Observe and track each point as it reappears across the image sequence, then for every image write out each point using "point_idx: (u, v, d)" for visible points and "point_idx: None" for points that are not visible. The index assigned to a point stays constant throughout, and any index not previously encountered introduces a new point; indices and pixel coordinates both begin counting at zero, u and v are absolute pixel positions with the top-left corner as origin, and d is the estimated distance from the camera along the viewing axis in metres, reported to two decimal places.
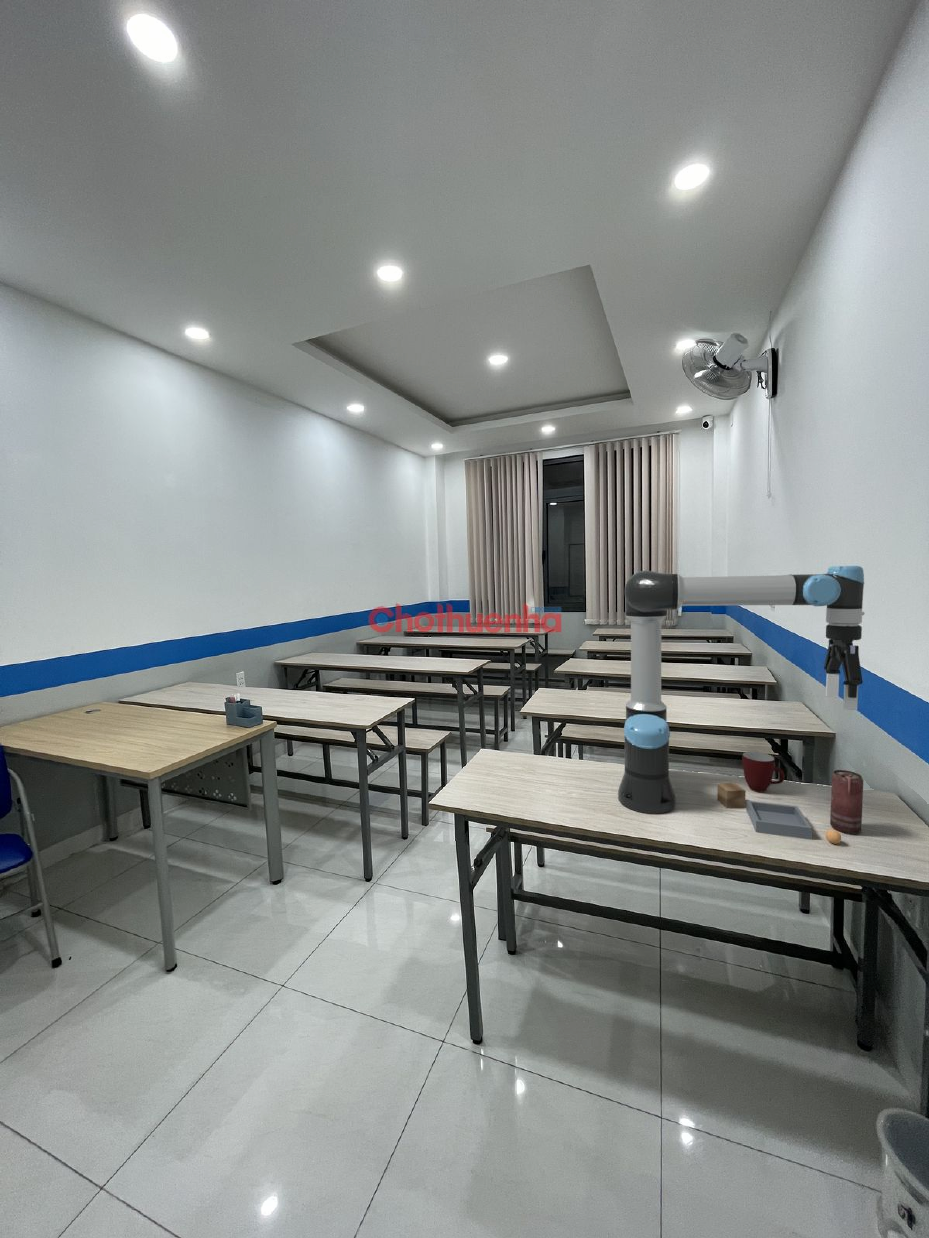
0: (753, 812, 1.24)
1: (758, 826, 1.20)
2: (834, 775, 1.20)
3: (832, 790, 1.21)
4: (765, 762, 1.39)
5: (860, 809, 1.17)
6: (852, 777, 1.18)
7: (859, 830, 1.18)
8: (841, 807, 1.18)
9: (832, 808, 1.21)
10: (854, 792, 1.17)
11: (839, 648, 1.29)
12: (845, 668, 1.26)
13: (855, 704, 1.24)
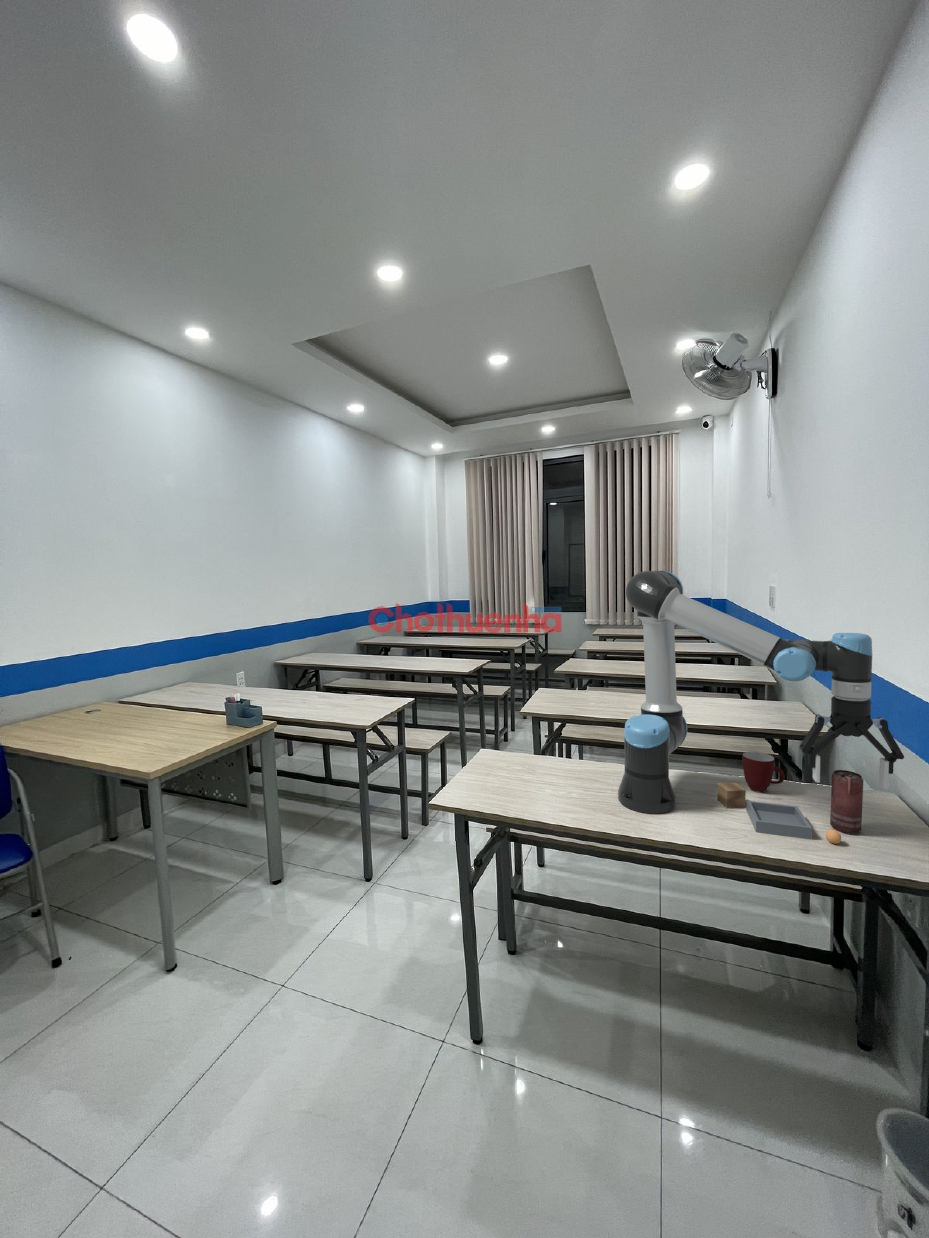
0: (753, 812, 1.24)
1: (758, 826, 1.20)
2: (834, 775, 1.20)
3: (832, 790, 1.21)
4: (765, 762, 1.39)
5: (860, 809, 1.17)
6: (852, 777, 1.18)
7: (859, 830, 1.18)
8: (841, 807, 1.18)
9: (832, 808, 1.21)
10: (854, 792, 1.17)
11: None
12: (820, 738, 1.21)
13: (815, 775, 1.21)
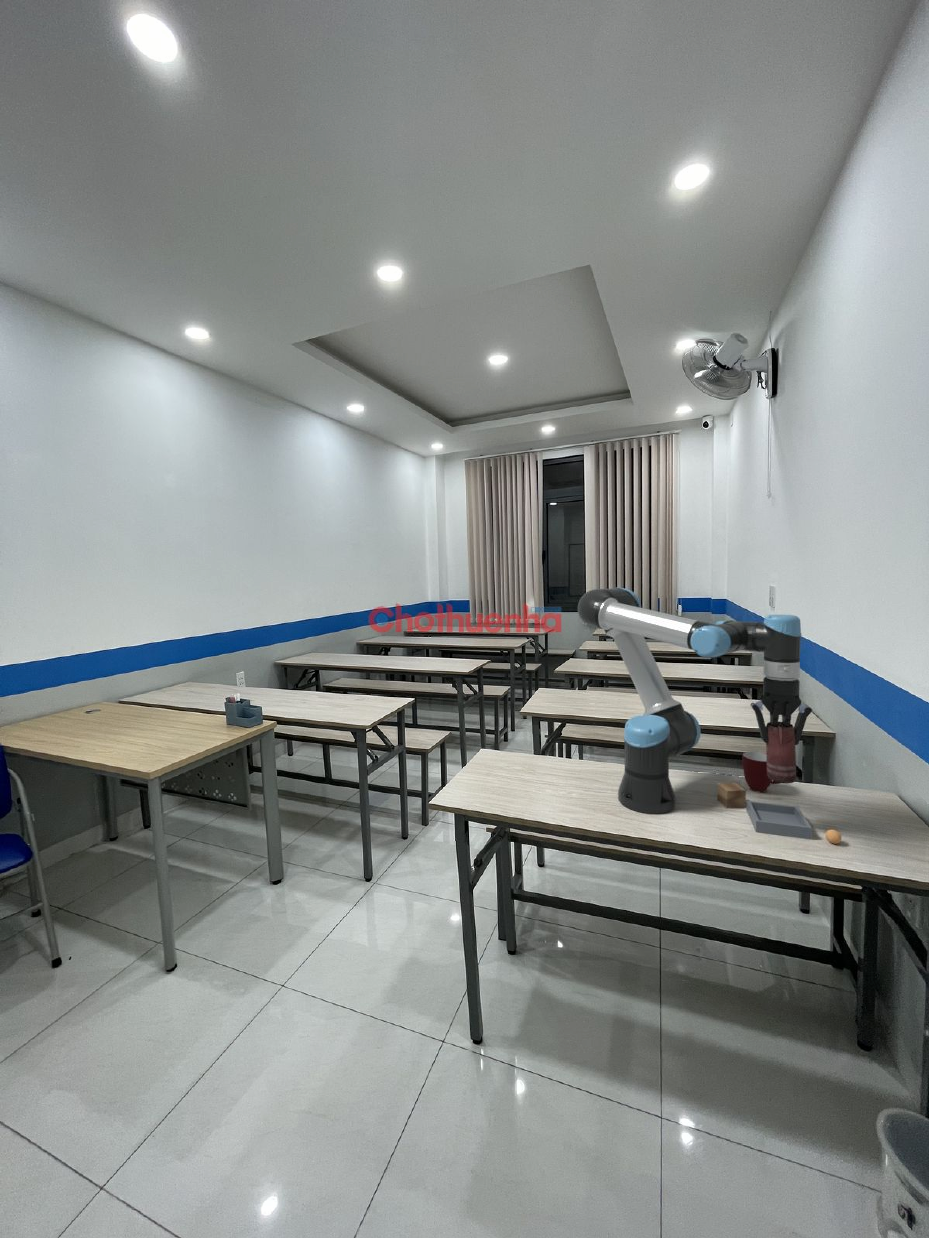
0: (753, 812, 1.24)
1: (758, 826, 1.20)
2: (767, 726, 1.22)
3: None
4: (765, 762, 1.39)
5: (793, 758, 1.19)
6: (784, 727, 1.20)
7: (793, 779, 1.20)
8: (775, 757, 1.20)
9: (767, 759, 1.23)
10: (786, 740, 1.19)
11: None
12: None
13: None
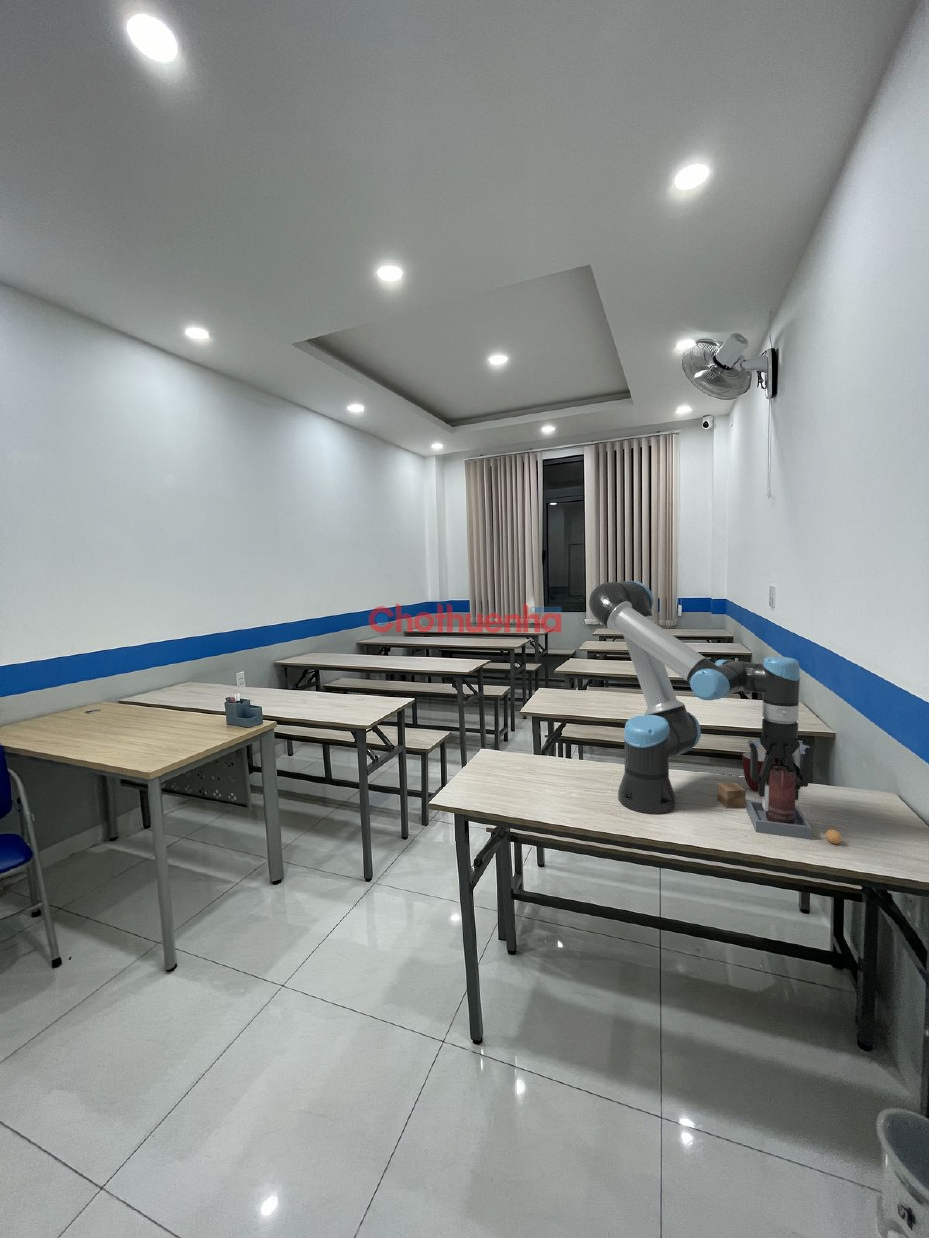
0: (753, 812, 1.24)
1: (758, 826, 1.20)
2: None
3: (767, 783, 1.23)
4: None
5: (793, 802, 1.20)
6: (785, 771, 1.21)
7: (792, 822, 1.21)
8: (775, 800, 1.21)
9: None
10: (787, 785, 1.19)
11: None
12: (762, 765, 1.24)
13: (764, 804, 1.23)
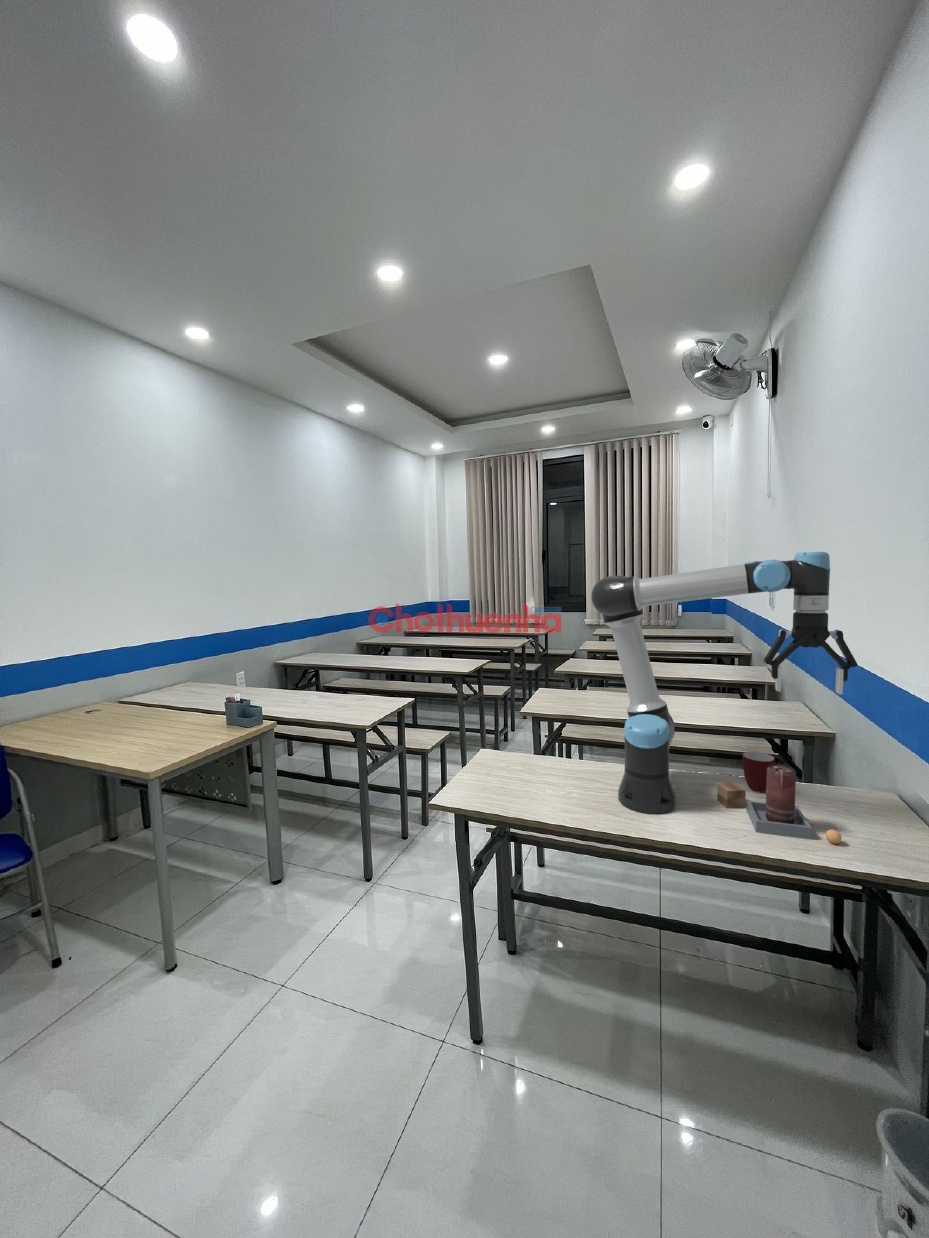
0: (753, 812, 1.24)
1: (758, 826, 1.20)
2: (769, 769, 1.23)
3: (767, 783, 1.23)
4: (765, 762, 1.39)
5: (792, 802, 1.20)
6: (785, 771, 1.21)
7: (792, 822, 1.21)
8: (775, 800, 1.21)
9: (767, 801, 1.23)
10: (786, 785, 1.19)
11: None
12: (782, 651, 1.31)
13: (777, 685, 1.31)
